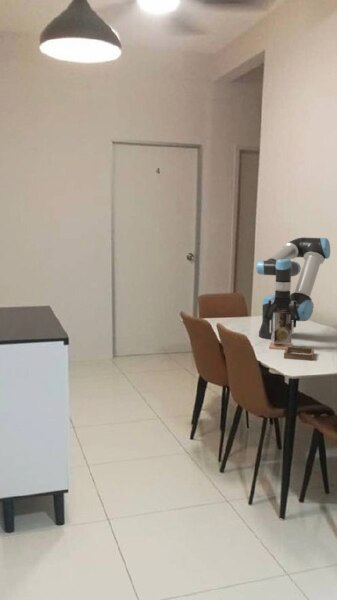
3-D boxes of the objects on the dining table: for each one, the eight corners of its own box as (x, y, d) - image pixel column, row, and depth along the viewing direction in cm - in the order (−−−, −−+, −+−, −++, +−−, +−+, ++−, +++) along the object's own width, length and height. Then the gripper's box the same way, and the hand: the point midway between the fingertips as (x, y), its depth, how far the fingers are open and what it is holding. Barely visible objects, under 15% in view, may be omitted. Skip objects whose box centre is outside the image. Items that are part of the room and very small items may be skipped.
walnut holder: (286, 351, 256) (286, 346, 255) (313, 353, 252) (313, 348, 252) (283, 358, 244) (284, 353, 243) (312, 360, 240) (312, 355, 239)
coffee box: (288, 340, 268) (289, 310, 265) (291, 343, 262) (292, 312, 259) (270, 340, 268) (271, 310, 265) (273, 343, 261) (274, 312, 259)
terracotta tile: (271, 343, 272) (271, 341, 272) (292, 345, 268) (292, 343, 268) (268, 348, 261) (268, 346, 261) (291, 350, 258) (291, 348, 258)
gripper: (259, 290, 260) (257, 333, 264) (305, 291, 253) (304, 336, 257) (261, 288, 267) (260, 330, 271) (306, 289, 260) (304, 332, 264)
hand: (281, 333), depth 264 cm, fingers closed on coffee box, 10 cm apart
